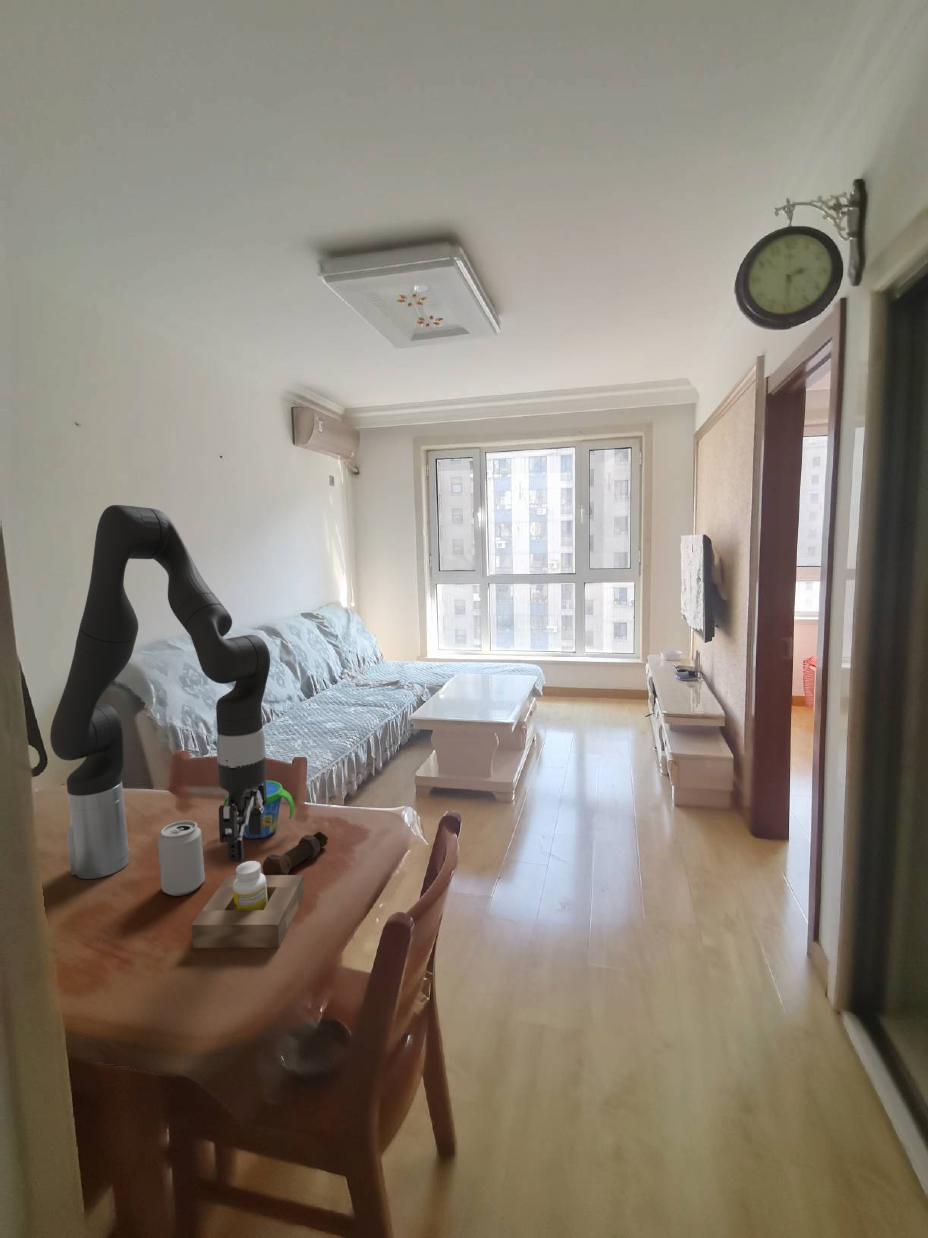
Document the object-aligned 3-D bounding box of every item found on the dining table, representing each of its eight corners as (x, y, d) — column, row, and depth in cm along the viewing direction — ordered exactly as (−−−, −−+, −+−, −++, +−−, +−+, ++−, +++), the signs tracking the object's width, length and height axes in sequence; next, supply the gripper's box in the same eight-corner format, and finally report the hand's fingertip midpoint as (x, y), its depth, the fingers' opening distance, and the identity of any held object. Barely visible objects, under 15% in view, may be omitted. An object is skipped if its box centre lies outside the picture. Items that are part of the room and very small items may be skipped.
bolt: (326, 855, 125) (275, 891, 111) (309, 840, 126) (258, 873, 113) (336, 835, 123) (286, 869, 109) (319, 820, 125) (268, 851, 111)
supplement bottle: (240, 911, 103) (237, 859, 102) (271, 909, 103) (268, 857, 102) (231, 931, 98) (227, 876, 96) (264, 928, 98) (260, 874, 97)
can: (214, 879, 113) (209, 821, 111) (184, 901, 106) (178, 840, 104) (183, 872, 115) (178, 815, 114) (152, 894, 108) (147, 833, 107)
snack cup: (302, 822, 136) (300, 780, 134) (283, 845, 125) (280, 800, 124) (239, 819, 137) (236, 778, 136) (215, 842, 127) (212, 798, 126)
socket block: (193, 948, 94) (191, 925, 93) (229, 895, 107) (227, 875, 107) (279, 947, 93) (277, 924, 93) (304, 895, 107) (303, 875, 107)
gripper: (236, 740, 104) (241, 826, 106) (199, 772, 89) (205, 870, 92) (278, 741, 103) (282, 826, 106) (247, 772, 89) (252, 871, 91)
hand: (246, 847), depth 99 cm, fingers open, 8 cm apart
